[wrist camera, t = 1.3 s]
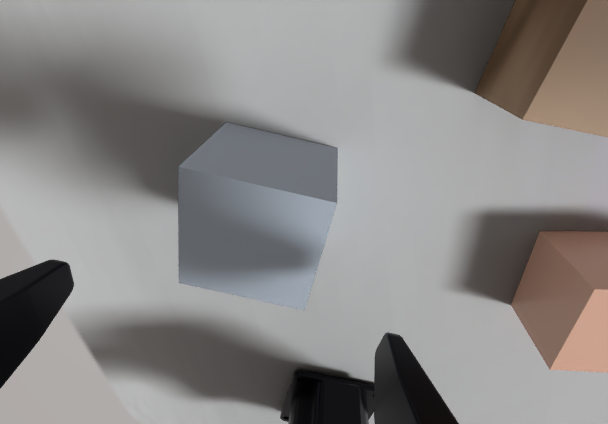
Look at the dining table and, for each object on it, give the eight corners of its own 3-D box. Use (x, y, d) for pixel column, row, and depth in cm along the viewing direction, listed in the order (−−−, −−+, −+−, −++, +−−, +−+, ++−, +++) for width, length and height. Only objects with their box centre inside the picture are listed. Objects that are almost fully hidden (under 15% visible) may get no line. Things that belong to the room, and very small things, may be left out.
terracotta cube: (607, 305, 17) (672, 375, 14) (509, 303, 18) (549, 369, 15) (653, 230, 15) (746, 293, 11) (538, 229, 15) (594, 289, 12)
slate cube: (313, 236, 17) (304, 310, 12) (219, 215, 17) (178, 282, 12) (337, 147, 14) (337, 202, 10) (226, 121, 14) (178, 166, 10)
